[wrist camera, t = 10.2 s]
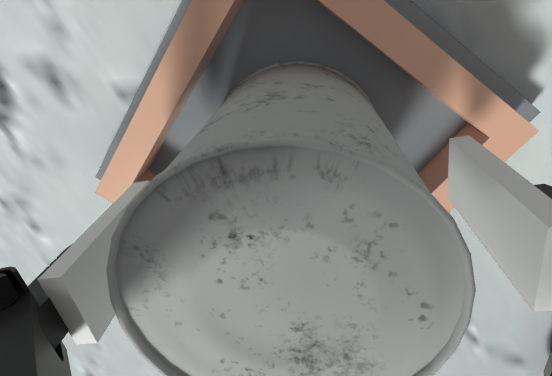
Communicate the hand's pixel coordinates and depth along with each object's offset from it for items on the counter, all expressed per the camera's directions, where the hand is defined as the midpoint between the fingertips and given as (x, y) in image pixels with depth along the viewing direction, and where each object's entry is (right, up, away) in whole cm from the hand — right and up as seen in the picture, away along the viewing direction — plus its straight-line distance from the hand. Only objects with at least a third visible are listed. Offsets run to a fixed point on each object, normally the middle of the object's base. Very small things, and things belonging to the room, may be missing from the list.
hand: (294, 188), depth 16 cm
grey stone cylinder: (0, +2, +5) cm, 5 cm away
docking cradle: (0, +3, +6) cm, 6 cm away
